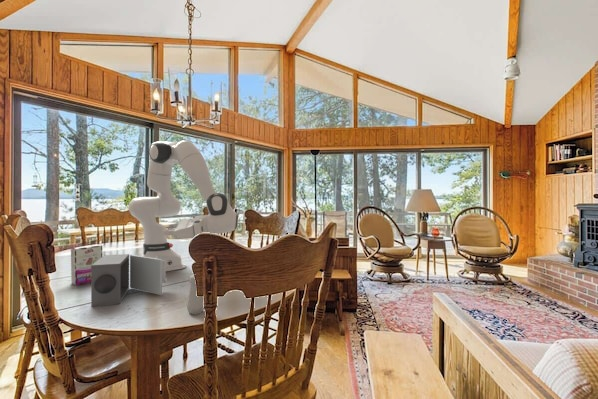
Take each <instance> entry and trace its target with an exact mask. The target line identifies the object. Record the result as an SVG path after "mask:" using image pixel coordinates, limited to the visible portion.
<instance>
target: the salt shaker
mask: <svg viewBox="0 0 598 399" xmlns="http://www.w3.org/2000/svg"><path fill="white" fill-rule="evenodd" d="M194 275H195V274H192V275H190V276H189V279H188V281H189V284H190V289H189V293H188V298H187V303H186V310H187V311H188V314H189V315H193V314H194V315H195V316H196V315H199V313H200V312H201V313H202V312H203V310H204V308H203V299H204V296H203V297H197V296H196V284H195V279H194ZM201 313H200V314H201Z"/></svg>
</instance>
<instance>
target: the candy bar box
mask: <svg viewBox="0 0 598 399" xmlns="http://www.w3.org/2000/svg"><path fill="white" fill-rule="evenodd" d="M102 257H103V245H102V244H99V243H98V244H90V245H82V246H77V247H70V262H71V263H70V266H71V268H70V270H71V273H70V274H71V285H74V286H80V285H85V284H91V265H92V264H94V263H95V262H96V261H98V260H99V259H100V258H102Z"/></svg>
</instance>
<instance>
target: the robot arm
mask: <svg viewBox="0 0 598 399" xmlns="http://www.w3.org/2000/svg"><path fill="white" fill-rule="evenodd" d="M148 154H149V158H150V161H149V164H148V171H147V179H146V186H147V187H148V188H149V189H150V190H151V191H153V192H155V193H156V196H141V197H135V198H132V199H131V200H130V202H129V204H128V212H129V214H130V215H131V216H132V217H134V218H135V219H136V220H137V221H139V223H140V224H141V226H142V229H143V243H142V244H143V245H142V254H143V257H150V258H156V259H162V260H165V273H166V272H170V271H176V270H181V269H186V267H187V264H186V263H184V262H183V260H182V257H181V254H179V253H178V252H176V251H175V250H174V249H171V248H173V246H174V244H173V243H171V242H168V236H174V238H175V239H177V240H185V239H193V237H194V236H195V235H197V234H199V233H202V232H210V233H213V234H226V233H229V232H233V231H235V230H236V229H237V228H238V224H239V222H238V221H239V216H238V213H237V212H236V211H235V210H234V209H233V208H232V206H231V204H230V202H229V200H228V198H227V196H226V195H225V194H223V193H222V192H221V193H220V192H216V191H215V189H214V187H213V184H212V182H211V178H210V177H211V176H210V171H209V167H208V164H207V162H206V160H205V157H204V155H203V154H202V153H201V151H200V150H199V149H198V147H197V146H196V145H195V144H194V143H193V142H192V141H190V140H181V141H162V140H161V141H160V140H159V141H155V142H152V143H151V144H150V146H149V149H148ZM177 164H178V165H180V167H181V168H182V170H183V172H184V173H185V175H187V177H188V178H189V179H190V181H191V182H192V183H193V184H194V186H195V187H196V188H197V190H198V191H199V193H200V194H201V196H202V198H203V199H204V201H205V203H206V209H207V211H208V214H205V215H203V214H202V215H195V216H194V217H192V218H182V219H181V220H180V221H179V222H175V223H172V224H168V229H167V227H166V226H165V225H164V224H161V223H159V222H157V219H156V218H168V217H173V216H177V215H178V214H180V211H181V209H182V208H181V206H182V205H181V202H180V200H179V199H178V198H176V196H174V194H173V192H172V189H171V188H172V187H171V184H172V183H171V182H172V181H171V180H172V172H173V166H174V165H177ZM194 238H195V237H194Z"/></svg>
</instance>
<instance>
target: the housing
mask: <svg viewBox="0 0 598 399" xmlns="http://www.w3.org/2000/svg"><path fill="white" fill-rule="evenodd" d="M90 284H91V290H90V292H91V298H90V302H91V304H90V306H91V308H92V307H101V306H111V305H119V304H121V303H122V301H123V299H124V298H125V297H126V295H127V293H128V292H129V289H130V253H124V254H106V255H105V254H104V255H102V258H100V259H99V260H98V261H96V262H95V263H94V264H92V265H91V282H90Z"/></svg>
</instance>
